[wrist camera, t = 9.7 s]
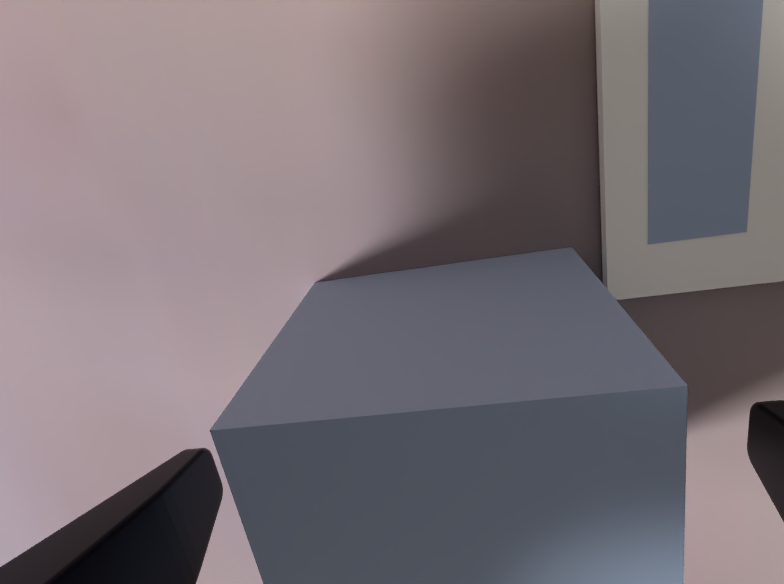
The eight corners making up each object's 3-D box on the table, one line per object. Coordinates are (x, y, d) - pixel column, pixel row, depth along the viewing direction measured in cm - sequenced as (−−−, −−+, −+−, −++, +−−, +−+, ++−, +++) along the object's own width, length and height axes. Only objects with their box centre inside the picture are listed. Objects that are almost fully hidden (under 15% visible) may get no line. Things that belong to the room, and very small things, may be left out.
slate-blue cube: (571, 245, 10) (687, 385, 5) (583, 463, 11) (680, 720, 7) (316, 281, 10) (209, 430, 6) (363, 478, 12) (311, 719, 7)
